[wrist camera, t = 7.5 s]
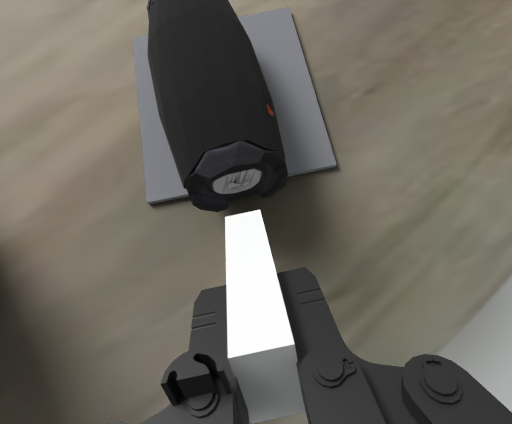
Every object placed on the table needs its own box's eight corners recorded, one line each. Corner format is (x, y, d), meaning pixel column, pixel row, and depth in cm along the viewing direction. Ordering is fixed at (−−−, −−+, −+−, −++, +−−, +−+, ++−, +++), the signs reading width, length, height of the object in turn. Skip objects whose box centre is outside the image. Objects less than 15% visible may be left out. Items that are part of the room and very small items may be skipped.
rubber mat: (335, 167, 28) (336, 164, 27) (149, 204, 28) (146, 202, 27) (288, 12, 34) (289, 7, 33) (134, 42, 33) (132, 37, 33)
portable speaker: (320, 165, 22) (251, -12, 28) (206, 155, 16) (151, -64, 22) (258, 212, 28) (213, 59, 34) (162, 216, 23) (128, 33, 29)
